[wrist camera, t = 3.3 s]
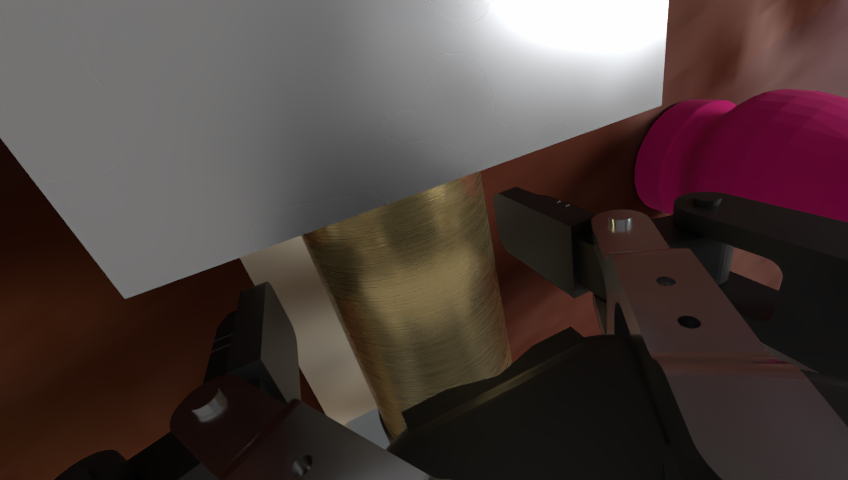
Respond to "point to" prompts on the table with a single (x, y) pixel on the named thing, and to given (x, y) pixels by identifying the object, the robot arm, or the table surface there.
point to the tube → (416, 295)
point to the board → (314, 329)
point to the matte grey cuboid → (295, 109)
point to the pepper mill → (751, 152)
